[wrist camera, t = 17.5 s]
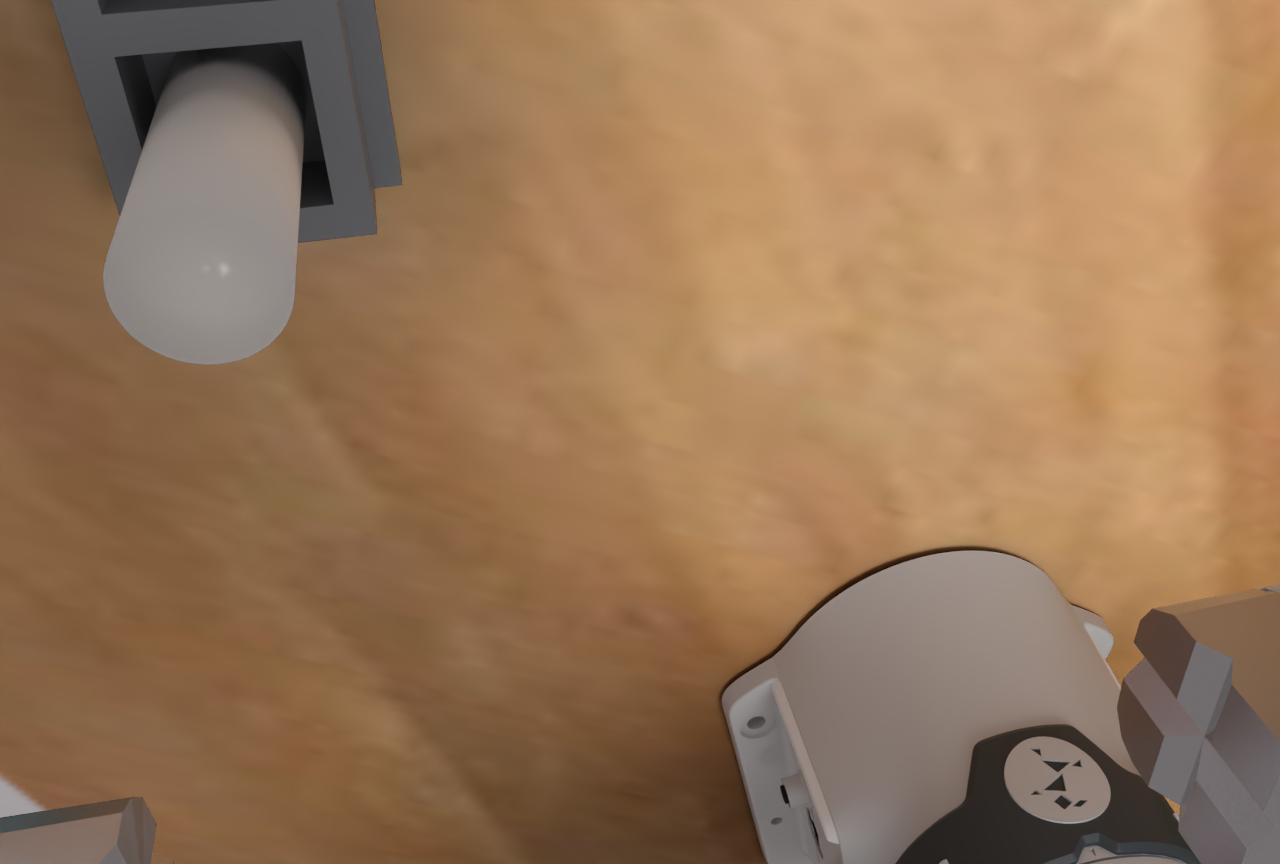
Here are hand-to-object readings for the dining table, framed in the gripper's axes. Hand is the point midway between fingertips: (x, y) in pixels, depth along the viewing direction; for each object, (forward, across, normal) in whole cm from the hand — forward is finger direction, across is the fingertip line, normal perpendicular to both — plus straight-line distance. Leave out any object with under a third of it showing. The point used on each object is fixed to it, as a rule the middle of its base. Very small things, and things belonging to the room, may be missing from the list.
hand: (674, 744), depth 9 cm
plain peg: (+27, -6, -3) cm, 28 cm away
